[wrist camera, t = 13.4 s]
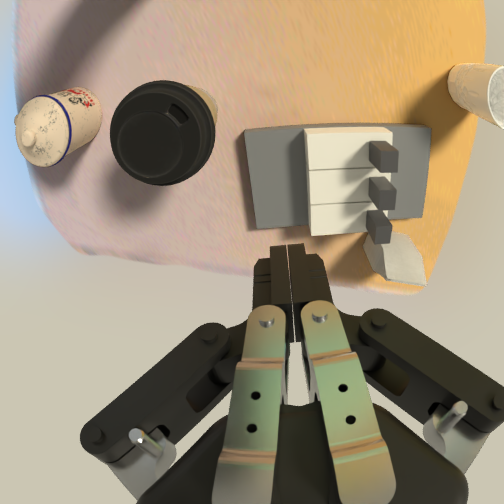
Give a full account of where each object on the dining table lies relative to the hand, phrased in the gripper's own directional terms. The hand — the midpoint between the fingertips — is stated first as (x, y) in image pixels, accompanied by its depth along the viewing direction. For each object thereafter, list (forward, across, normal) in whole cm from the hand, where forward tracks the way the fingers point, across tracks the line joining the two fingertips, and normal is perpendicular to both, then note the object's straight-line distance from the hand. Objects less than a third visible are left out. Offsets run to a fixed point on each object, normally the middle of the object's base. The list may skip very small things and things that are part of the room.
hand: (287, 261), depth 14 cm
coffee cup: (+27, +9, -3) cm, 29 cm away
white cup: (+27, -28, -6) cm, 39 cm away
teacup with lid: (+28, +27, -8) cm, 39 cm away
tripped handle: (+21, -12, +7) cm, 25 cm away
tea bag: (+27, -16, +19) cm, 36 cm away
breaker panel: (+27, -9, +7) cm, 29 cm away
